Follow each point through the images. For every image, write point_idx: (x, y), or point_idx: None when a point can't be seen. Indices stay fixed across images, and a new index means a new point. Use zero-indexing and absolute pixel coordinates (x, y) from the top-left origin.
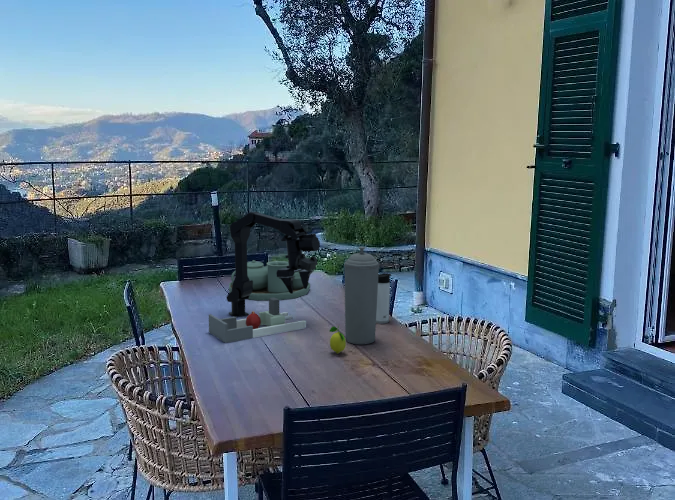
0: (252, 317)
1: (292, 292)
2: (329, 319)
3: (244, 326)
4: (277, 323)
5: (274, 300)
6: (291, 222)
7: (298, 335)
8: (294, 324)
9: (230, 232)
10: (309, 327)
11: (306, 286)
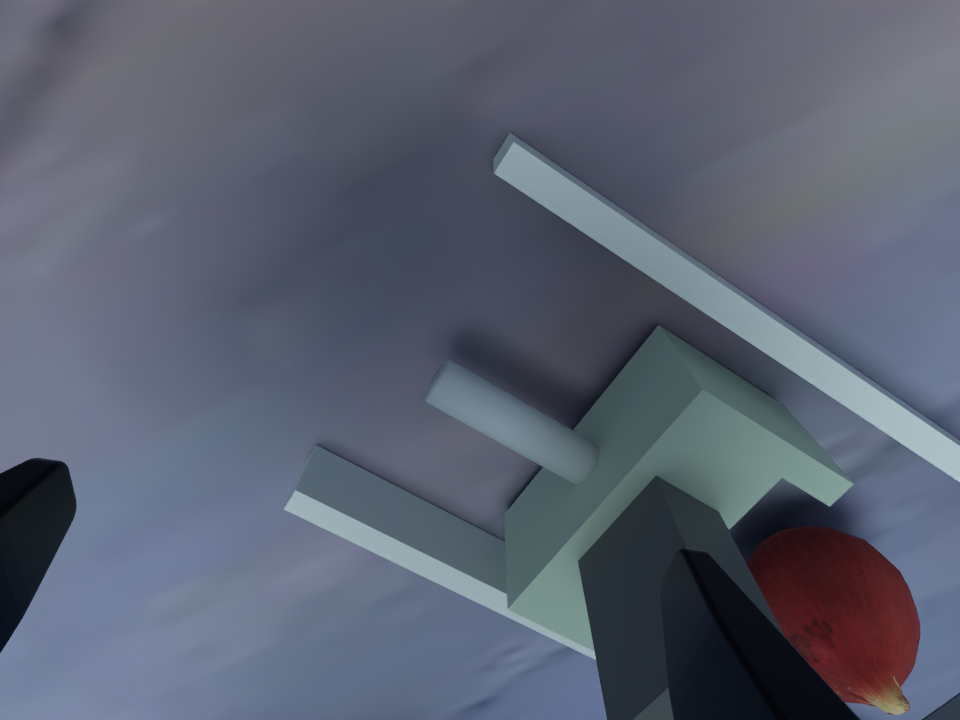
0: (916, 644)
1: (717, 564)
2: (6, 14)
3: None
4: (755, 403)
5: None
6: None
7: (809, 83)
8: (654, 236)
9: None
10: (458, 107)
11: (20, 497)
